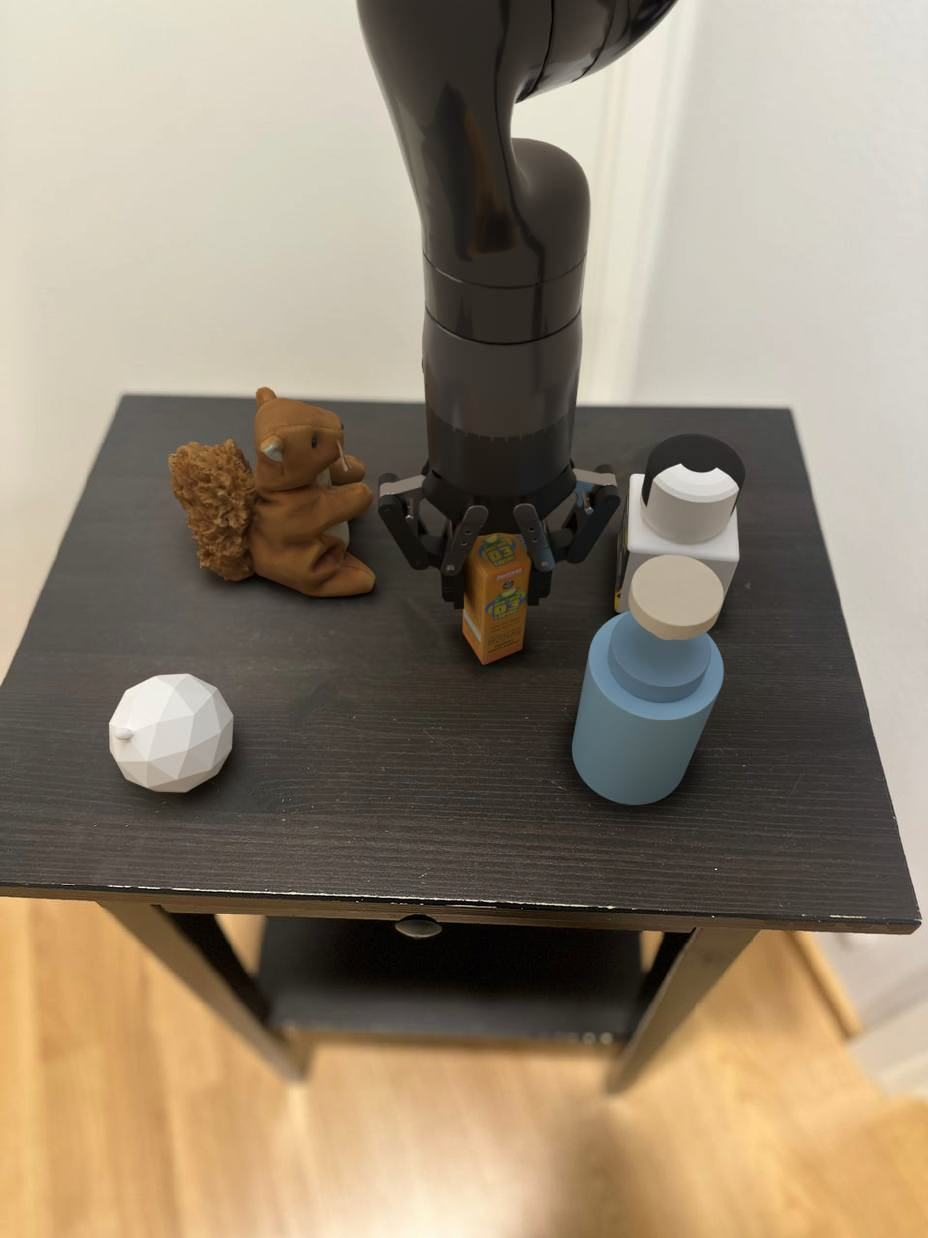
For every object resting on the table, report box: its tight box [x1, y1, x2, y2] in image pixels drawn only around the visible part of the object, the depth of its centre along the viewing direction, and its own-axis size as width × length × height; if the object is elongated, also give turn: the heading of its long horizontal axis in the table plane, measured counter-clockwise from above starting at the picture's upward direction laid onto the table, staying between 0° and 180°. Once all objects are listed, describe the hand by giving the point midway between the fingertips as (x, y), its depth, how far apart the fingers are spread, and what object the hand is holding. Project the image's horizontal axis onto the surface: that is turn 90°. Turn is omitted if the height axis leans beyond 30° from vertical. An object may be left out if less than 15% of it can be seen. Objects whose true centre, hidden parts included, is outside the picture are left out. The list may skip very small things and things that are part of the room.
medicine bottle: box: [614, 433, 746, 614], centre depth 58 cm, size 7×7×12 cm
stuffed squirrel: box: [167, 386, 376, 598], centre depth 60 cm, size 10×14×13 cm
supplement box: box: [462, 533, 531, 666], centre depth 56 cm, size 3×3×10 cm
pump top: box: [628, 555, 725, 640], centre depth 43 cm, size 4×4×3 cm
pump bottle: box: [571, 611, 725, 806], centre depth 50 cm, size 7×7×12 cm
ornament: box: [108, 673, 234, 793], centre depth 52 cm, size 7×7×8 cm
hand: (495, 596), depth 56 cm, fingers closed on supplement box, 4 cm apart
